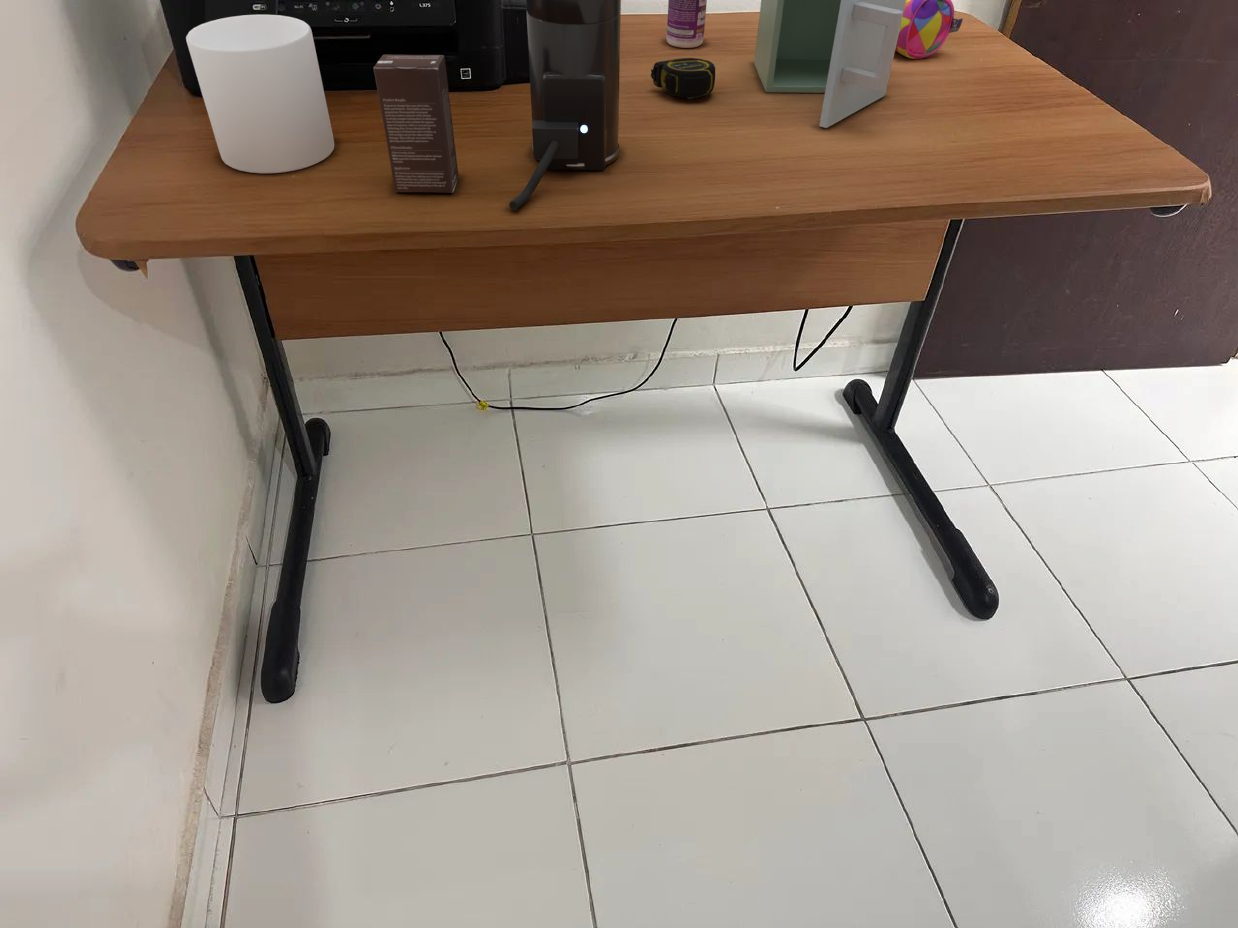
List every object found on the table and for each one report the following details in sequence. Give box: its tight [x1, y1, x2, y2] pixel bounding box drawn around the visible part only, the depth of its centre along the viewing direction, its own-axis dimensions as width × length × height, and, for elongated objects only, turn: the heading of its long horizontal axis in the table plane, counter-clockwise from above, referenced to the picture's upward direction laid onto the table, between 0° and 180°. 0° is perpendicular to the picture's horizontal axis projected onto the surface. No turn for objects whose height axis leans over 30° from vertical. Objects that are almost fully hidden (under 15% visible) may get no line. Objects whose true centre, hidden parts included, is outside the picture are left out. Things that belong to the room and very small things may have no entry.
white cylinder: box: [185, 14, 335, 174], centre depth 89 cm, size 12×12×12 cm
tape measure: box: [650, 57, 716, 100], centre depth 107 cm, size 7×7×4 cm
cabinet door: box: [818, 0, 906, 129], centre depth 98 cm, size 6×15×16 cm, turn 140°
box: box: [373, 54, 460, 194], centre depth 84 cm, size 6×4×12 cm
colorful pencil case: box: [895, 0, 964, 60], centre depth 123 cm, size 22×9×9 cm, turn 26°
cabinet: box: [753, 0, 841, 94], centre depth 108 cm, size 11×15×17 cm
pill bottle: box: [665, 0, 708, 49], centre depth 120 cm, size 5×5×10 cm
